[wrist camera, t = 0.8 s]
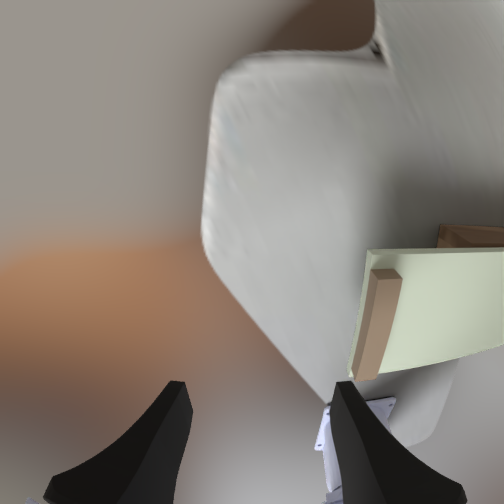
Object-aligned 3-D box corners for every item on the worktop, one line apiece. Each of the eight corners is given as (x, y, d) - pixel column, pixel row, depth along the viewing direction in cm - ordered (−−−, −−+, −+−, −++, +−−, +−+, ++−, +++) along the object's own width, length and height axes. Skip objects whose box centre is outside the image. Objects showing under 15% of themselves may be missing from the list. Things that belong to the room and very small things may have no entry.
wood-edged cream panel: (501, 338, 16) (512, 351, 14) (346, 369, 17) (352, 390, 15) (532, 247, 13) (547, 256, 11) (367, 249, 14) (380, 264, 12)
